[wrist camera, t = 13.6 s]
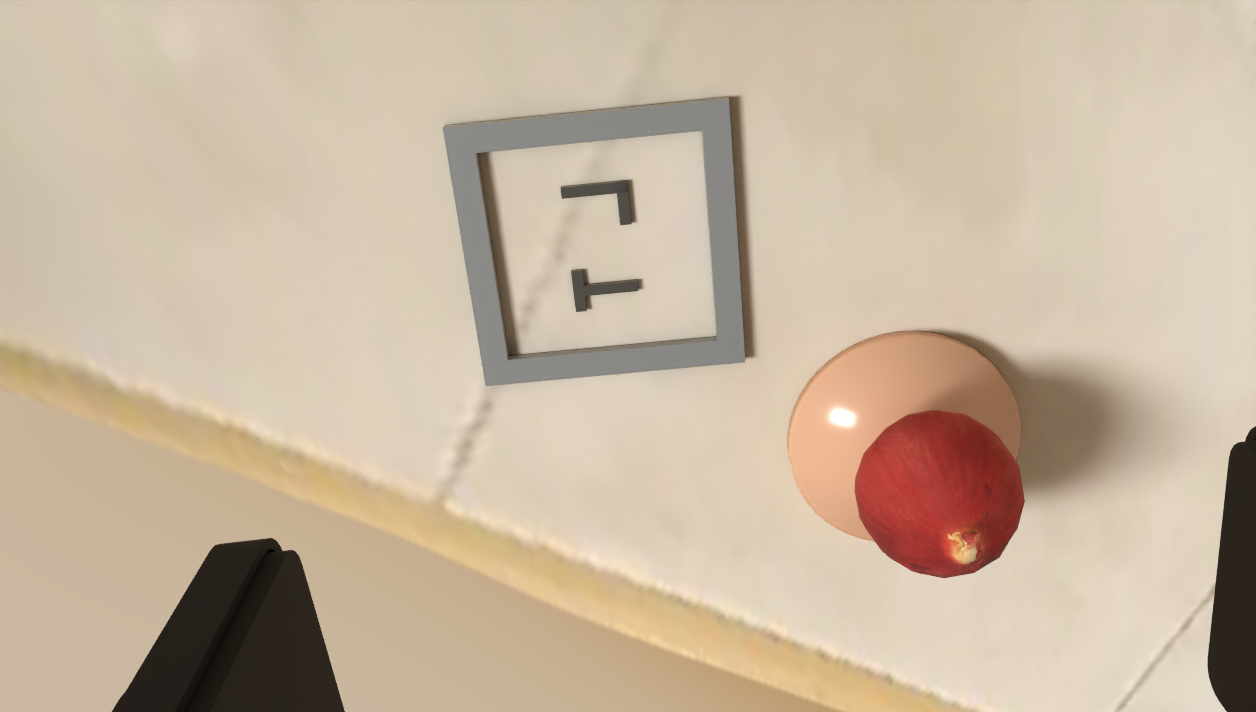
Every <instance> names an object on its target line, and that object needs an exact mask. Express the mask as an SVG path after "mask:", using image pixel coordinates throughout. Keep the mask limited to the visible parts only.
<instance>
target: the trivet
mask: <svg viewBox="0 0 1256 712" xmlns="http://www.w3.org/2000/svg"><path fill="white" fill-rule="evenodd" d="M929 410H938V411H945V412H953V413H960V414H966V415H968V416H969V417H971V418H973V419H975V420H976V421H978V422H980V423H982V424H983V425H985V426H987V427H988V428H990V429H991V430H992V431H993V432H994V433H995V434H997V435H998V436H999V438H1000V439H1001V440H1002V442H1003V443H1004V445H1005V446H1006V447H1007V449H1008V450H1009V452H1010V453H1011V454H1012V456H1013V457H1014V459H1015V461H1016V460H1017V456H1018V453H1019V449H1020V441H1021V419H1020V414H1019V408H1018V405H1017V403H1016V400H1015V397H1014V395H1013V393H1012V391H1011V389H1010V387H1009V385H1008V384H1007V382H1006V381H1005V380H1004V378H1003V377H1002V376H1001V374H1000V373H999V372H998V370H997V369H996V368H995V366H994V365H993V364H992V363H991V362H990V361H989V360H988V359H987V358H986V357H985V356H984V355H982V354H981V353H980V352H978V351H977V350H975V349H974V348H973V347H971V346H969V345H967V344H965V343H963V342H961V341H959V340H957V339H954V338H951V337H948V336H945V335H941V334H936V333H932V332H921V331H902V332H894V333H888V334H883V335H879V336H876V337H872V338H869V339H866V340H864V341H862V342H859V343H857V344H854V345H853V346H851V347H849V348H847V349H845V350H844V351H842V352H840V353H839V354H838V355H836V356H835V357H833V358H832V359H831V360H829V361H828V362H827V363H826V364H825V365H824V366H823V367H821V368H820V369H819V370H818V371H817V372H816V374H815V375H814V376H813V377H812V378H811V379H810V381H809V382H808V383H807V385H806V386H805V388H804V389H803V391H802V392H801V394H800V396H799V398H798V400H797V402H796V404H795V406H794V409H793V412H792V415H791V418H790V423H789V429H788V444H787V446H788V455H789V460H790V464H791V468H792V471H793V475H794V478H795V481H796V484H797V486H798V488H799V490H800V492H801V494H802V496H803V497H804V499H805V500H806V502H807V503H808V505H809V506H810V507H811V508H812V509H813V510H814V511H815V513H816V514H818V515H819V516H820V517H821V518H822V519H823V520H825V521H826V522H827V523H829V524H830V525H832V526H833V527H835V528H837V529H838V530H841V531H843V532H845V533H847V534H849V535H852V536H855V537H858V538H861V539H865V540H870V541H874V540H873V538H872V537H871V536H870V534H869V533H868V531H867V530H866V529H865V527H864V525H863V523H862V521H861V520H860V517H859V512H858V507H857V502H856V496H855V477H856V474H857V471H858V468H859V465H860V462H861V459H862V456H863V454H864V452H865V451H866V450H867V449H868V448H869V447H870V445H871V444H872V443H873V442H874V441H875V440H876V439H877V437H878V436H879V435H880V434H881V433H882V432H883V431H884V429H885V428H887V427H888V426H890V425H892V424H893V423H895V422H896V421H898V420H900V419H901V418H903V417H904V416H906V415H909V414H914V413H919V412H924V411H929Z"/></svg>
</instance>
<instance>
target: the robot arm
mask: <svg viewBox="0 0 1256 712" xmlns="http://www.w3.org/2000/svg"><path fill="white" fill-rule="evenodd" d="M1208 673H1209V678H1210V682H1211V685H1212V688H1213V690H1214V692H1215V695H1216V696H1217V698H1218V700H1219V701H1220V703H1221V704H1222V706H1223V707H1224V708H1225V710H1226V711H1227V712H1256V426H1255V427H1254V428H1252V429H1251V430H1250V432H1249V433H1248V435H1247V437H1246V440H1245V442H1239V443H1237V444H1235V445H1234V446H1233V448H1232V450H1231V452H1230V456H1229V463H1228V472H1227V482H1226V491H1225V501H1224V510H1223V520H1222V529H1221V538H1220V548H1219V557H1218V567H1217V576H1216V586H1215V595H1214V604H1213V614H1212V623H1211V633H1210V642H1209V652H1208ZM112 712H345V711H344V708H343V704H342V701H341V697H340V694H339V690H338V687H337V683H336V680H335V676H334V673H333V670H332V666H331V663H330V660H329V656H328V652H327V649H326V645H325V642H324V638H323V635H322V632H321V628H320V625H319V622H318V618H317V614H316V611H315V607H314V604H313V601H312V597H311V594H310V590H309V587H308V583H307V580H306V576H305V573H304V570H303V566H302V563H301V560H300V558H299V556H298V554H297V553H296V552H295V551H293V550H288V551H282V549H281V547H280V545H279V544H278V542H277V541H276V540H274V539H272V538H268V539H259V540H251V541H243V542H233V543H224V544H219V545H215V546H214V547H213V548H212V549H211V551H210V552H209V554H208V555H207V557H206V559H205V561H204V562H203V564H202V565H201V567H200V569H199V570H198V572H197V574H196V575H195V577H194V579H193V580H192V582H191V584H190V585H189V587H188V589H187V590H186V592H185V594H184V595H183V597H182V599H181V600H180V602H179V604H178V605H177V607H176V609H175V610H174V612H173V614H172V615H171V617H170V619H169V620H168V622H167V624H166V626H165V627H164V629H163V631H162V632H161V634H160V635H159V637H158V639H157V640H156V642H155V644H154V645H153V647H152V649H151V650H150V652H149V654H148V655H147V657H146V659H145V660H144V662H143V664H142V666H141V667H140V669H139V670H138V672H137V674H136V675H135V677H134V679H133V681H132V682H131V684H130V685H129V687H128V689H127V690H126V692H125V693H124V694H123V696H122V697H121V698H120V699H119V701H118V703H117V704H116V706H115V707H114V709H113V711H112Z"/></svg>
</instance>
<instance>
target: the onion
mask: <svg viewBox="0 0 1256 712" xmlns="http://www.w3.org/2000/svg"><path fill="white" fill-rule="evenodd" d="M855 496H856V502H857V507H858V512H859V517H860V520H861V521H862V523H863V525H864V527H865V529H866V530H867V531H868V533H869V534H870V536H871V537H872V538H873V540H874V541H875V542H876V544H877V545H878V546H879V548H880V549H881V550H882V551H883V552H884V553H885V554H886V555H887V556H888V557H890V558H891V559H893V560H894V561H896V562H898V563H899V564H901V565H903V566H904V567H906V568H908V569H909V570H911V571H914V572H917V573H921V574H926V575H931V576H936V577H941V578H948V577H953V576H959V575H965V574H970V573H975V572H976V571H978V570H980V569H981V568H983V567H984V566H986V565H988V564H989V563H991V562H992V561H994V560H996V559H998V558H999V557H1000V556H1001V554H1002V552H1003V551H1004V549H1005V547H1006V546H1007V544H1008V542H1009V541H1010V539H1011V537H1012V536H1013V534H1014V533H1015V531H1016V530H1017V528H1018V524H1019V521H1020V517H1021V513H1022V509H1023V506H1024V502H1025V501H1024V494H1023V488H1022V482H1021V476H1020V470H1019V466H1018V464H1017V463H1016V461H1015V459H1014V457H1013V456H1012V454H1011V453H1010V452H1009V450H1008V449H1007V447H1006V446H1005V445H1004V443H1003V442H1002V440H1001V439H1000V438H999V436H998V435H997V434H995V433H994V432H993V431H992V430H991V429H990V428H988V427H987V426H985V425H983V424H982V423H980V422H978V421H976V420H975V419H973V418H971V417H969V416H968V415H966V414H960V413H953V412H945V411H938V410H929V411H924V412H919V413H914V414H909V415H906V416H904V417H903V418H901V419H900V420H898V421H896V422H895V423H893V424H892V425H890V426H888V427H887V428H885V429H884V431H883V432H882V433H881V434H880V435H879V436H878V437H877V439H876V440H875V441H874V442H873V443H872V444H871V445H870V447H869V448H868V449H867V450H866V451H865V452H864V454H863V456H862V459H861V462H860V465H859V468H858V471H857V474H856V477H855Z"/></svg>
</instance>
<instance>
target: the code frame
mask: <svg viewBox="0 0 1256 712" xmlns="http://www.w3.org/2000/svg"><path fill="white" fill-rule="evenodd" d="M443 131H444V137H445V143H446V149H447V155H448V161H449V168H450V174H451V180H452V186H453V192H454V198H455V204H456V210H457V216H458V222H459V228H460V234H461V240H462V246H463V252H464V258H465V264H466V270H467V276H468V282H469V288H470V294H471V300H472V306H473V312H474V318H475V324H476V330H477V336H478V342H479V348H480V354H481V360H482V366H483V372H484V378H485V384H486V386H493V385H504V384H515V383H525V382H536V381H547V380H558V379H569V378H580V377H590V376H601V375H612V374H623V373H634V372H645V371H655V370H666V369H677V368H688V367H699V366H710V365H720V364H731V363H742V362H745V349H744V333H743V317H742V301H741V284H740V268H739V252H738V236H737V220H736V203H735V187H734V171H733V155H732V139H731V122H730V106H729V98H728V97H722V98H712V99H702V100H692V101H682V102H672V103H662V104H652V105H642V106H632V107H622V108H612V109H602V110H593V111H583V112H573V113H563V114H553V115H543V116H533V117H523V118H513V119H503V120H493V121H483V122H473V123H463V124H453V125H445V126H444V127H443ZM693 131H702V142H703V156H704V169H705V183H706V197H707V211H708V225H709V238H710V252H711V266H712V280H713V294H714V308H715V321H716V335H717V337H706V338H696V339H685V340H674V341H663V342H653V343H642V344H631V345H620V346H610V347H599V348H588V349H578V350H567V351H556V352H545V353H535V354H524V355H513V356H509V353H508V347H507V341H506V334H505V328H504V321H503V315H502V308H501V302H500V295H499V289H498V283H497V276H496V270H495V263H494V257H493V250H492V244H491V237H490V231H489V224H488V218H487V212H486V205H485V199H484V192H483V186H482V179H481V173H480V166H479V160H478V154H477V153H483V152H493V151H503V150H513V149H523V148H533V147H543V146H553V145H563V144H573V143H583V142H593V141H603V140H613V139H623V138H633V137H643V136H653V135H663V134H673V133H683V132H693ZM614 193H617V197H618V206H619V216H620V225H627V224H631V214H630V204H629V194H628V185H627V180H624V181H614V182H604V183H593V184H583V185H573V186H563V187H561V195H562V199H563V198H573V197H583V196H593V195H604V194H614ZM571 274H572V282H573V290H574V298H575V306H576V312H580V311H587V306H586V298H585V296H590V295H600V294H611V293H621V292H632V291H638V283H637V280H627V281H616V282H606V283H595V284H585V285H584V281H583V273H582V269H581V270H571Z"/></svg>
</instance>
